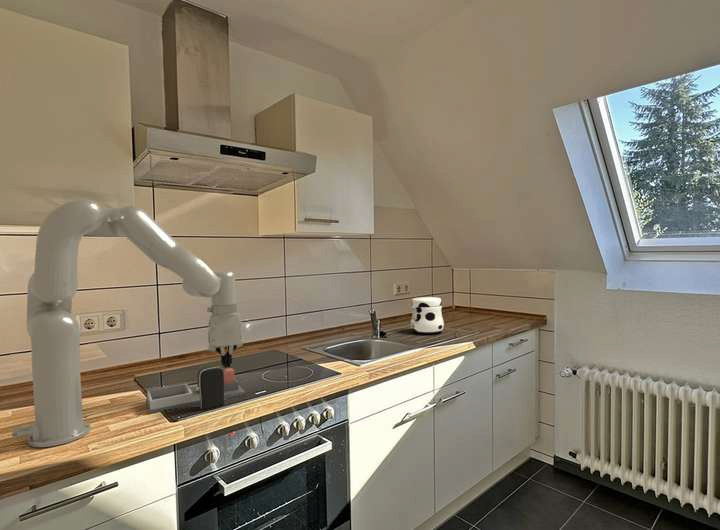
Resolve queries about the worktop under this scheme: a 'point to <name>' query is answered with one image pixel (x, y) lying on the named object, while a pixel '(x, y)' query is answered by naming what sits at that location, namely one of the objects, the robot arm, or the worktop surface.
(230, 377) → the red cube
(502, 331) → the worktop surface
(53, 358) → the robot arm
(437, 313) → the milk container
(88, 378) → the worktop surface
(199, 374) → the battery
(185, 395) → the charging dock
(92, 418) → the worktop surface
